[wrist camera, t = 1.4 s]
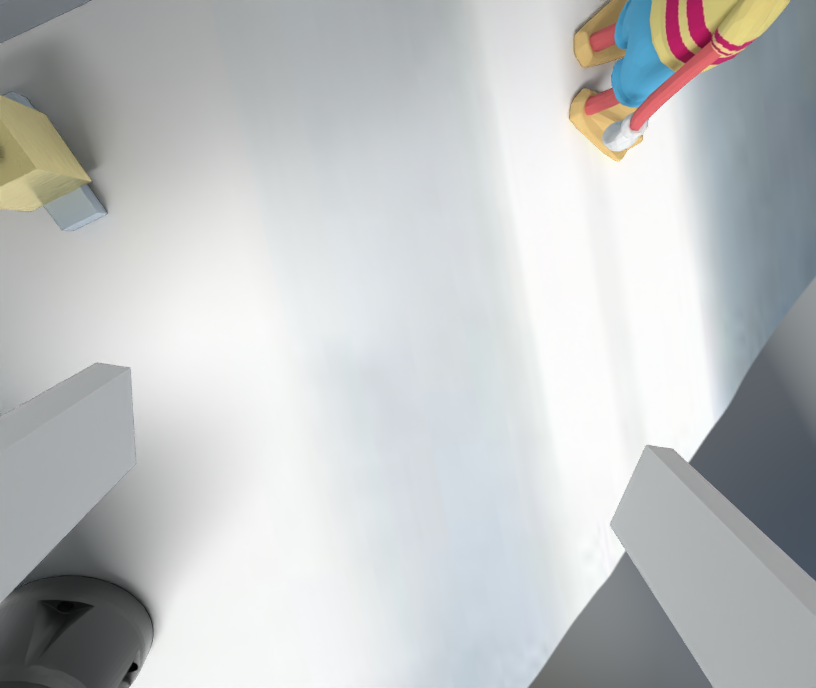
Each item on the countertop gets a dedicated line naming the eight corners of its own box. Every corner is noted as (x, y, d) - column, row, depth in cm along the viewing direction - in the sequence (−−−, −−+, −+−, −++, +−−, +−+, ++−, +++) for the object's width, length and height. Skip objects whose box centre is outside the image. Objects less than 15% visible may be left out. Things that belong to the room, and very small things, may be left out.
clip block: (31, 211, 30) (-54, 204, 24) (-20, 145, 29) (-125, 117, 22) (92, 181, 31) (25, 166, 24) (45, 114, 29) (-41, 77, 22)
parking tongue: (73, 230, 32) (61, 230, 31) (-11, 116, 30) (-28, 110, 28) (107, 213, 33) (97, 212, 31) (27, 98, 30) (11, 91, 28)
